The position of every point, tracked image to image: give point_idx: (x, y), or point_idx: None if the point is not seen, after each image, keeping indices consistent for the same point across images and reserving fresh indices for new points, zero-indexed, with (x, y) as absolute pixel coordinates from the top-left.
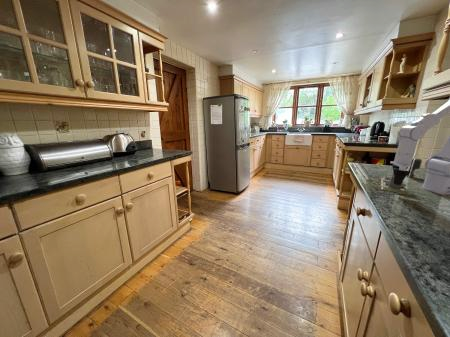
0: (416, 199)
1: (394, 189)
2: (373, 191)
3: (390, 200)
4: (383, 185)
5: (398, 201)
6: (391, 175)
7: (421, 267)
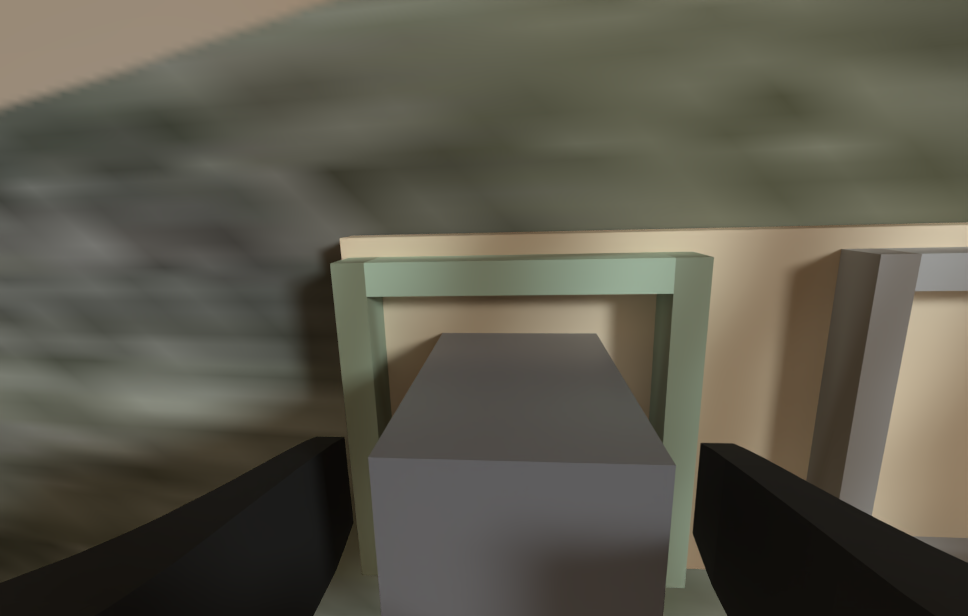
0: (344, 585)
1: (349, 413)
2: (236, 139)
3: (34, 343)
4: (422, 263)
5: (83, 418)
6: (610, 454)
7: None
